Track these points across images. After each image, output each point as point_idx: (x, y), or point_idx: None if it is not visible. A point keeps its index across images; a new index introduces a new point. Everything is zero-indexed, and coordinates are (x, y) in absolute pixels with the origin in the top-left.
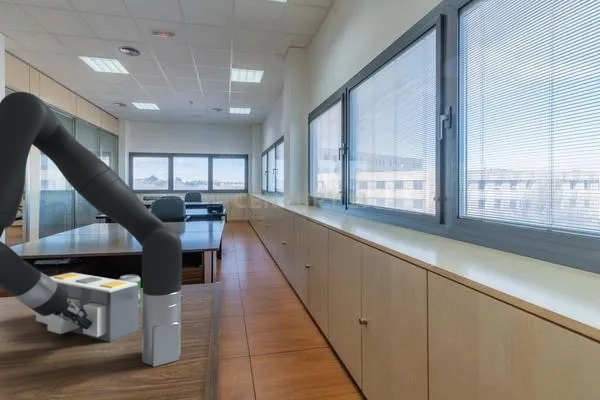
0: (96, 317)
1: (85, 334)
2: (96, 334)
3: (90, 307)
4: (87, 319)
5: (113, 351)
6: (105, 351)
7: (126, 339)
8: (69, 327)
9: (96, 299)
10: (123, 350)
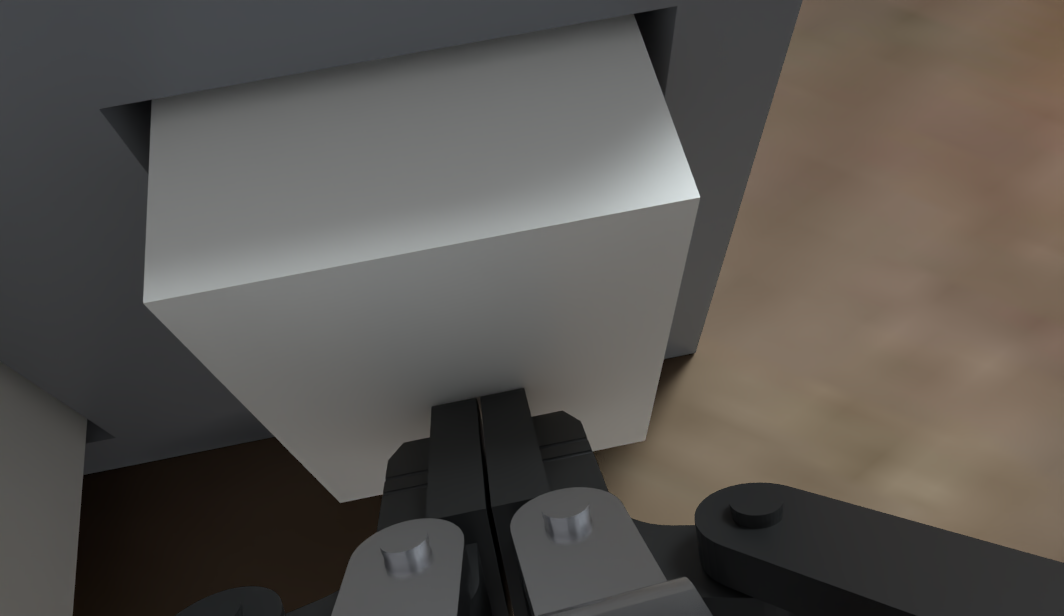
0: (644, 315)
1: (238, 438)
2: (631, 433)
3: (430, 254)
4: (534, 444)
5: (1002, 445)
6: (936, 503)
7: (752, 220)
8: (41, 580)
9: (290, 6)
10: (1049, 364)
